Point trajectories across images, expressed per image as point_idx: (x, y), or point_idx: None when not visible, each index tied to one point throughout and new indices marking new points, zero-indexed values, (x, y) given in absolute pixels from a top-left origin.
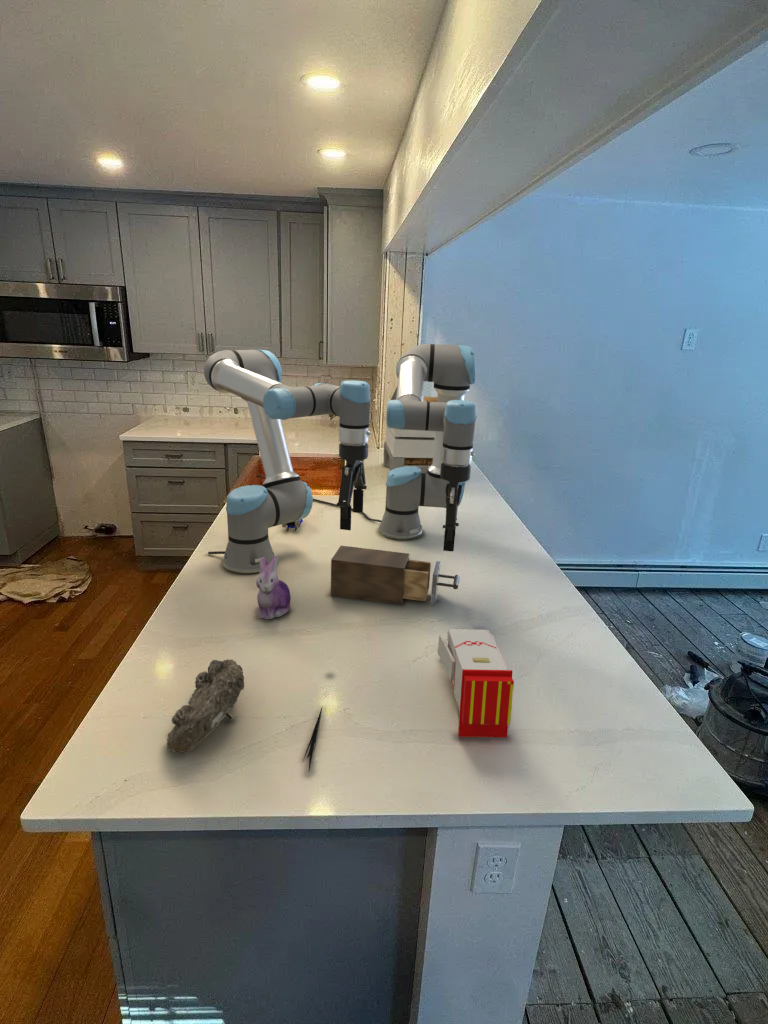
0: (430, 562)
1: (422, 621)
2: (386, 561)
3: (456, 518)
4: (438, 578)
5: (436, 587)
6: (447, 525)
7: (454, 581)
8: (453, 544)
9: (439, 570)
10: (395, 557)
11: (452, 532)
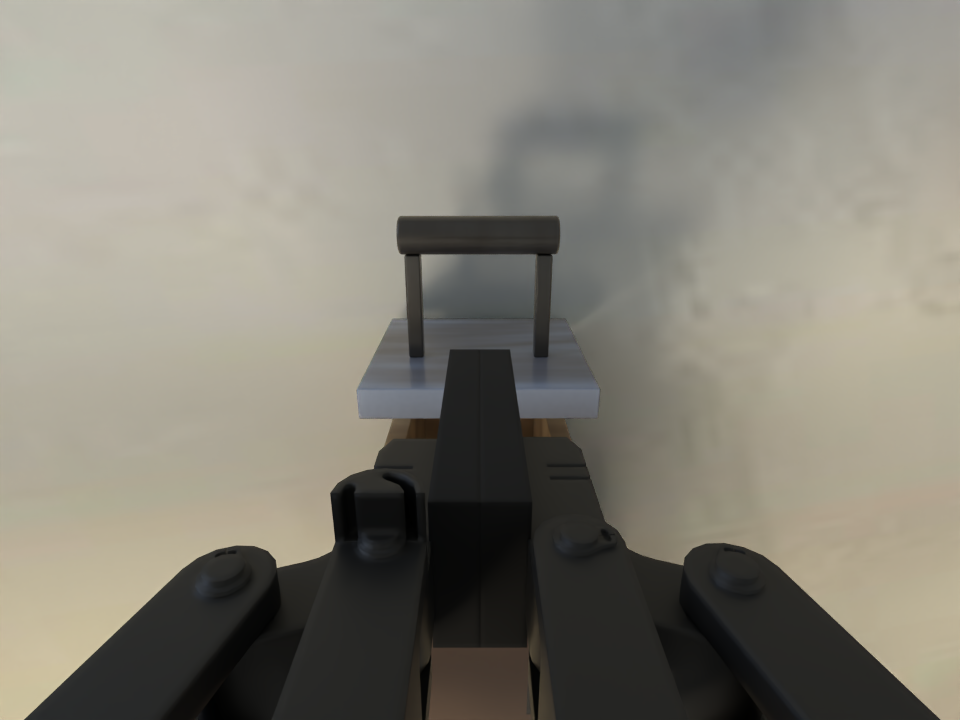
0: None
1: (703, 354)
2: (525, 700)
3: (235, 587)
4: (447, 353)
5: (567, 351)
6: (761, 715)
7: (506, 249)
8: (513, 387)
9: (411, 368)
10: (448, 667)
11: (601, 511)
